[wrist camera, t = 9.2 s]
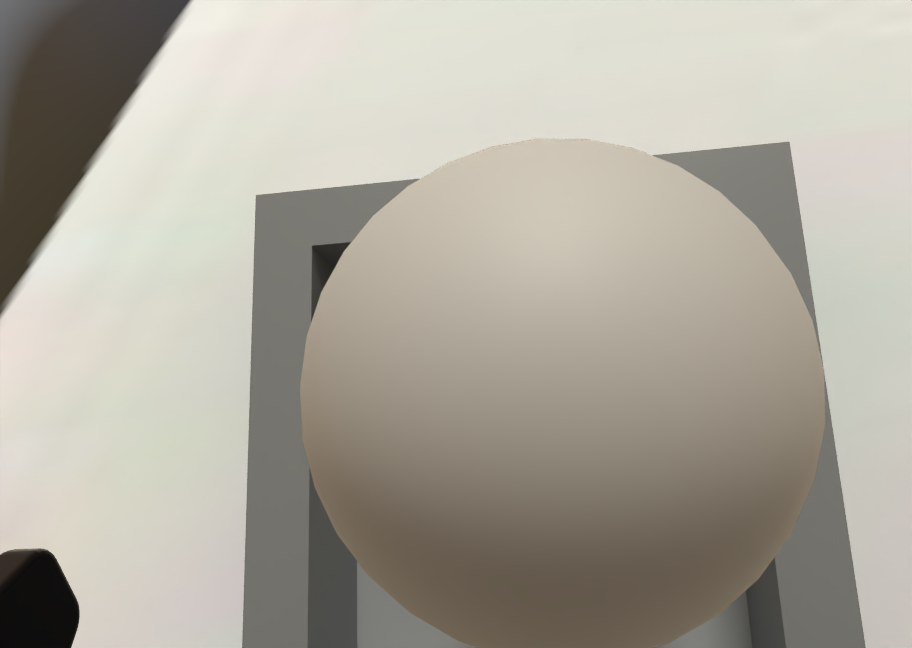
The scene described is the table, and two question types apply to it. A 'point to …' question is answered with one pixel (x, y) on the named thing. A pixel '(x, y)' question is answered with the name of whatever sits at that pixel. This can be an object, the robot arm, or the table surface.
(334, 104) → the table surface
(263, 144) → the table surface
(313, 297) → the socket
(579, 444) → the lightbulb
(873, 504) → the table surface
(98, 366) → the table surface
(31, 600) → the robot arm
